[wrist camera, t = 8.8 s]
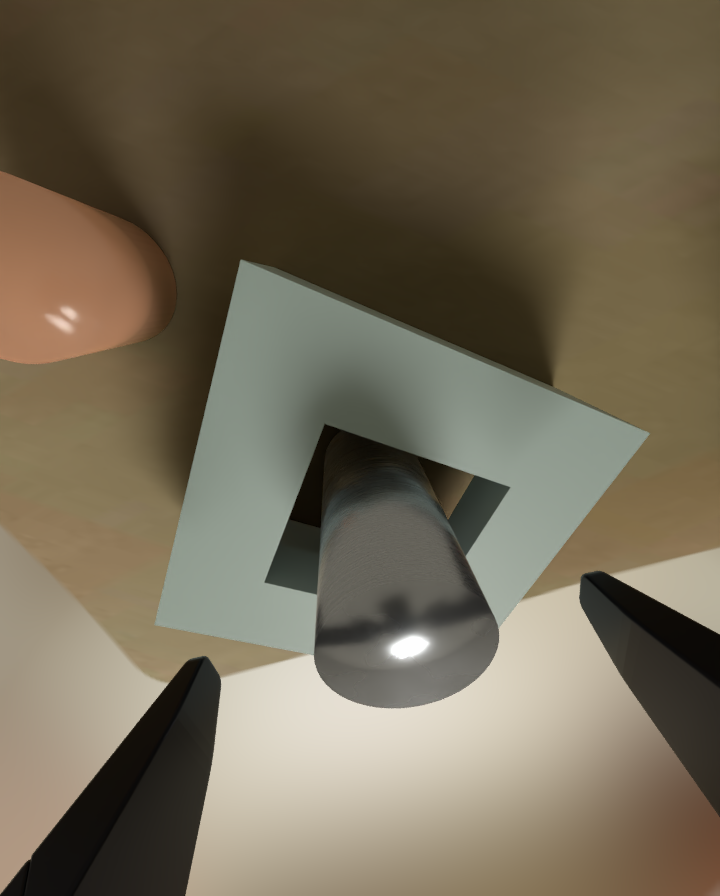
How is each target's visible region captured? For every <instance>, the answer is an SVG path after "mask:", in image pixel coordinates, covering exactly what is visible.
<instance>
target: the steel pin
mask: <svg viewBox="0 0 720 896" xmlns="http://www.w3.org/2000/svg"><path fill="white" fill-rule="evenodd" d="M498 643H499V629H498V624H497V622H496V619H495V617H494V615H493V612H492V610H491V608H490V606H489V604H488V602H487V600H486V598H485V596H484V594H483V592H482V590H481V588H480V586H479V584H478V581H477V579H476V577H475V575H474V573H473V571H472V569H471V567H470V565H469V563H468V561H467V559H466V557H465V555H464V553H463V550H462V548H461V546H460V544H459V542H458V540H457V538H456V536H455V534H454V532H453V530H452V528H451V526H450V524H449V521H448V519H447V517H446V515H445V513H444V511H443V509H442V507H441V505H440V503H439V501H438V499H437V497H436V495H435V493H434V490H433V488H432V486H431V484H430V482H429V480H428V478H427V476H426V474H425V472H424V470H423V468H422V466H421V464H420V462H419V459H418V457H417V455H415V454H412V453H409V452H406V451H403V450H400V449H397V448H394V447H391V446H388V445H385V444H383V443H380V442H377V441H374V440H371V439H368V438H365V437H362V436H359V435H356V434H353V433H350V432H347V431H344V430H341V431H340V432H338V433H337V434H336V435H335V436H334V438H333V439H332V440H331V442H330V443H329V445H328V447H327V450H326V454H325V460H324V478H323V496H322V515H321V533H320V552H319V570H318V589H317V607H316V625H315V644H314V660H315V665H316V668H317V671H318V673H319V675H320V677H321V678H322V680H323V681H324V682H325V683H326V685H328V686H329V687H330V688H331V689H332V690H333V691H335V692H336V693H337V694H339V695H341V696H342V697H344V698H346V699H348V700H351V701H354V702H356V703H359V704H363V705H367V706H373V707H380V708H407V707H414V706H420V705H425V704H428V703H432V702H436V701H439V700H442V699H444V698H446V697H449V696H451V695H453V694H455V693H457V692H459V691H461V690H462V689H464V688H465V687H467V686H468V685H470V684H471V683H472V682H473V681H475V680H476V679H477V678H478V677H479V676H480V675H481V674H482V673H483V672H484V671H485V670H486V668H487V667H488V666H489V665H490V663H491V661H492V660H493V658H494V656H495V653H496V650H497V648H498Z"/></svg>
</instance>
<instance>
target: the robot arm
mask: <svg viewBox="0 0 720 896" xmlns="http://www.w3.org/2000/svg"><path fill="white" fill-rule="evenodd" d="M579 599H580V604H581V606H582V609H583V610H584V612H585V614H586V616H587V617H588V619H589V621H590V623H591V624H592V626H593V628H594V630H595V631H596V633H597V635H598V636H599V638H600V640H601V642H602V643H603V645H604V647H605V649H606V651H607V652H608V654H609V656H610V657H611V659H612V661H613V663H614V665H615V666H616V668H617V669H618V671H619V673H620V675H621V676H622V678H623V679H624V681H625V682H626V684H627V685H628V686H629V688H630V689H631V691H632V692H633V694H634V695H635V697H636V698H637V700H638V701H639V702H640V704H641V705H642V707H643V708H644V710H645V711H646V712H647V714H648V715H649V717H650V718H651V720H652V721H653V722H654V724H655V725H656V727H657V728H658V730H659V731H660V732H661V734H662V735H663V737H664V738H665V740H666V741H667V742H668V744H669V745H670V747H671V748H672V750H673V751H674V752H675V754H676V755H677V757H678V758H679V760H680V761H681V762H682V764H683V765H684V767H685V768H686V770H687V771H688V772H689V774H690V775H691V777H692V778H693V779H694V781H695V782H696V784H697V785H698V787H699V788H700V790H701V791H702V792H703V794H704V795H705V796H706V798H707V800H708V801H709V802H710V804H711V805H712V807H713V808H714V809H715V811H716V812H717V814H718V815H719V817H720V634H718V633H716V632H714V631H712V630H710V629H709V628H707V627H705V626H703V625H701V624H699V623H697V622H696V621H693V620H692V619H690V618H688V617H686V616H684V615H683V614H680V613H679V612H677V611H675V610H673V609H671V608H670V607H668V606H666V605H664V604H662V603H660V602H658V601H657V600H655V599H653V598H651V597H649V596H647V595H645V594H644V593H642V592H640V591H638V590H636V589H634V588H632V587H631V586H629V585H627V584H625V583H623V582H621V581H620V580H618V579H616V578H614V577H612V576H610V575H608V574H607V573H604V572H602V571H594V572H590V573H585V574H583V575H582V576H581V583H580V596H579ZM220 690H221V679H220V676H219V674H218V672H217V671H216V669H215V668H214V666H213V664H212V663H211V661H210V660H209V658H208V657H206V656H201V657H197V658H192V659H190V660H188V661H187V662H186V663H185V664H184V665H183V666H182V668H181V669H180V670H179V671H178V673H177V674H176V675H175V676H174V678H173V679H172V680H171V681H170V683H169V684H168V685H167V686H166V688H165V689H164V690H163V691H162V693H161V694H160V695H159V697H158V698H157V699H156V700H155V702H154V703H153V704H152V705H151V707H150V708H149V709H148V710H147V712H146V713H145V714H144V716H143V717H142V718H141V719H140V721H139V722H138V723H137V724H136V725H135V727H134V728H133V729H132V730H131V732H130V733H129V734H128V735H127V737H126V738H125V739H124V740H123V742H122V743H121V744H120V745H119V747H118V748H117V749H116V751H115V752H114V753H113V754H112V755H111V757H110V758H109V759H108V760H107V762H106V763H105V764H104V765H103V767H102V768H101V769H100V771H99V772H98V773H97V774H96V775H95V777H94V778H93V779H92V780H91V782H90V783H89V784H88V785H87V787H86V788H85V789H84V790H83V792H82V793H81V794H80V795H79V797H78V798H77V799H76V800H75V802H74V803H73V804H72V806H71V807H70V808H69V809H68V810H67V812H66V813H65V814H64V816H63V817H62V818H61V819H60V820H59V822H58V823H57V824H56V825H55V827H54V828H53V829H52V831H51V832H50V833H49V834H48V835H47V837H46V838H45V839H44V840H43V842H42V843H41V844H40V846H39V847H38V848H37V849H36V851H35V852H34V853H33V855H32V857H31V860H28V861H27V862H26V863H25V864H24V865H23V867H22V868H21V869H20V870H19V872H18V873H17V874H16V875H15V877H14V878H13V879H12V880H11V882H10V883H9V884H8V886H7V887H6V888H5V889H4V890H3V892H2V893H1V894H0V896H185V894H186V889H187V884H188V879H189V874H190V869H191V864H192V859H193V854H194V850H195V845H196V840H197V835H198V830H199V825H200V820H201V815H202V811H203V806H204V800H205V796H206V791H207V786H208V781H209V776H210V771H211V765H212V758H213V752H214V742H215V734H216V725H217V717H218V708H219V699H220Z"/></svg>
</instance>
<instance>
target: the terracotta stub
mask: <svg viewBox="0 0 720 896" xmlns="http://www.w3.org/2000/svg"><path fill="white" fill-rule="evenodd" d="M176 299H177V289H176V282H175V278H174V274H173V271H172V269H171V266H170V264H169V262H168V260H167V258H166V256H165V254H164V253H163V251H162V250H161V248H160V247H159V246H158V245H157V244H156V242H155V241H154V240H153V239H152V238H151V237H150V236H149V235H148V234H147V233H145V232H144V231H143V230H142V229H140V228H139V227H137V226H136V225H134V224H133V223H131V222H129V221H127V220H125V219H122V218H120V217H117V216H115V215H112V214H110V213H107V212H105V211H102V210H99V209H97V208H94V207H92V206H89V205H87V204H84V203H82V202H79V201H77V200H74V199H71V198H69V197H66V196H64V195H61V194H59V193H56V192H54V191H51V190H49V189H46V188H43V187H41V186H38V185H36V184H33V183H31V182H28V181H26V180H23V179H21V178H18V177H15V176H13V175H10V174H8V173H5V172H2V171H0V358H1V359H5V360H9V361H12V362H18V363H25V364H44V363H51V362H56V361H60V360H64V359H69V358H73V357H77V356H82V355H86V354H90V353H95V352H99V351H103V350H108V349H112V348H117V347H121V346H125V345H130V344H134V343H138V342H142V341H146V340H148V339H151V338H153V337H154V336H156V335H158V334H159V333H160V332H161V331H163V329H164V328H165V327H166V326H167V325H168V323H169V322H170V320H171V318H172V316H173V313H174V310H175V306H176Z"/></svg>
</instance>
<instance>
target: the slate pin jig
mask: <svg viewBox="0 0 720 896" xmlns="http://www.w3.org/2000/svg"><path fill="white" fill-rule="evenodd" d="M324 424H327V425H330V426H333V427H336V428H339V429H341V430H344V431H347V432H350V433H353V434H356V435H359V436H362V437H365V438H368V439H371V440H374V441H377V442H380V443H383V444H385V445H388V446H391V447H394V448H397V449H400V450H403V451H406V452H409V453H412V454H415V455H418V456H421V457H424V458H426V459H429V460H432V461H435V462H438V463H441V464H444V465H447V466H450V467H453V468H456V469H459V470H462V471H465V472H468V473H470V474H473V475H475V476H474V477H473V479H472V481H471V482H470V484H469V486H468V488H467V489H466V491H465V493H464V494H463V496H462V498H461V499H460V501H459V503H458V504H457V506H456V508H455V509H454V511H453V513H452V514H451V516H450V518H449V519H448V521H449V524H450V526H451V528H452V530H453V532H454V534H455V536H456V538H457V540H458V542H459V544H460V546H461V548H462V550H463V553H464V555H465V557H466V559H467V561H468V563H469V565H470V567H471V569H472V571H473V573H474V575H475V577H476V579H477V581H478V584H479V586H480V588H481V590H482V592H483V594H484V596H485V598H486V600H487V602H488V604H489V606H490V608H491V610H492V612H493V615H494V617H495V619H496V622H497V624H498V628H499V627H500V626H501V625H502V623H503V622H504V621H505V619H506V618H507V617H508V616H509V614H510V613H511V612H512V610H513V609H514V608H515V607H516V605H517V604H518V603H519V601H520V600H521V599H522V598H523V596H524V595H525V594H526V592H527V591H528V590H529V589H530V587H531V586H532V585H533V583H534V582H535V581H536V580H537V578H538V577H539V576H540V574H541V573H542V572H543V571H544V569H545V568H546V567H547V565H548V564H549V563H550V562H551V560H552V559H553V558H554V556H555V555H556V554H557V553H558V551H559V550H560V549H561V547H562V546H563V545H564V544H565V542H566V541H567V540H568V538H569V537H570V536H571V535H572V533H573V532H574V531H575V529H576V528H577V527H578V526H579V524H580V523H581V522H582V520H583V519H584V518H585V516H586V515H587V514H588V513H589V511H590V510H591V509H592V507H593V506H594V505H595V504H596V502H597V501H598V500H599V498H600V497H601V496H602V495H603V493H604V492H605V491H606V489H607V488H608V487H609V486H610V484H611V483H612V482H613V480H614V479H615V478H616V477H617V475H618V474H619V473H620V471H621V470H622V469H623V468H624V466H625V465H626V464H627V462H628V461H629V460H630V459H631V457H632V456H633V455H634V453H635V452H636V451H637V450H638V448H639V447H640V446H641V444H642V443H643V442H644V441H645V439H646V438H647V437H648V435H649V434H650V433H648V432H646V431H644V430H642V429H640V428H638V427H636V426H634V425H632V424H630V423H628V422H625V421H623V420H621V419H619V418H617V417H615V416H613V415H611V414H609V413H607V412H605V411H603V410H600V409H598V408H596V407H594V406H592V405H590V404H588V403H586V402H584V401H582V400H580V399H577V398H575V397H573V396H571V395H569V394H567V393H565V392H563V391H561V390H559V389H557V388H554V387H552V386H550V385H548V384H545V383H543V382H541V381H538V380H536V379H534V378H531V377H529V376H527V375H524V374H522V373H520V372H517V371H515V370H513V369H510V368H508V367H506V366H503V365H501V364H499V363H496V362H494V361H492V360H489V359H487V358H485V357H482V356H480V355H478V354H475V353H473V352H471V351H468V350H466V349H464V348H461V347H459V346H457V345H454V344H452V343H450V342H447V341H445V340H443V339H440V338H438V337H436V336H433V335H431V334H429V333H426V332H424V331H422V330H419V329H417V328H415V327H412V326H410V325H408V324H405V323H403V322H401V321H398V320H396V319H394V318H391V317H389V316H387V315H384V314H382V313H380V312H377V311H375V310H373V309H370V308H368V307H366V306H363V305H361V304H359V303H356V302H354V301H352V300H349V299H347V298H345V297H342V296H340V295H338V294H335V293H333V292H331V291H328V290H326V289H324V288H321V287H319V286H317V285H314V284H312V283H310V282H307V281H305V280H303V279H300V278H298V277H296V276H293V275H291V274H289V273H286V272H284V271H282V270H279V269H277V268H275V267H271V266H267V265H262V264H258V263H254V262H250V261H245V260H240V265H239V269H238V273H237V277H236V282H235V286H234V290H233V294H232V299H231V303H230V307H229V311H228V316H227V320H226V324H225V328H224V332H223V337H222V341H221V345H220V349H219V354H218V358H217V362H216V366H215V371H214V375H213V379H212V383H211V388H210V392H209V396H208V400H207V405H206V409H205V413H204V417H203V422H202V426H201V430H200V434H199V439H198V443H197V447H196V451H195V455H194V460H193V464H192V468H191V472H190V477H189V481H188V485H187V489H186V494H185V498H184V502H183V506H182V511H181V515H180V519H179V523H178V528H177V532H176V536H175V540H174V545H173V549H172V553H171V557H170V562H169V566H168V570H167V574H166V579H165V583H164V587H163V591H162V595H161V600H160V604H159V608H158V612H157V617H156V621H155V625H157V626H163V627H168V628H173V629H178V630H184V631H189V632H194V633H199V634H205V635H210V636H215V637H221V638H226V639H231V640H236V641H242V642H247V643H252V644H258V645H263V646H268V647H273V648H279V649H284V650H289V651H294V652H300V653H305V654H310V655H314V644H315V625H316V607H317V589H318V570H319V552H320V533H321V528H319V527H315V526H311V525H308V524H304V523H300V522H297V521H293V520H289V516H290V513H291V511H292V508H293V506H294V503H295V500H296V498H297V495H298V492H299V490H300V487H301V485H302V482H303V479H304V477H305V474H306V471H307V469H308V466H309V464H310V461H311V458H312V456H313V453H314V450H315V448H316V445H317V443H318V440H319V437H320V435H321V432H322V430H323V427H324Z"/></svg>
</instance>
